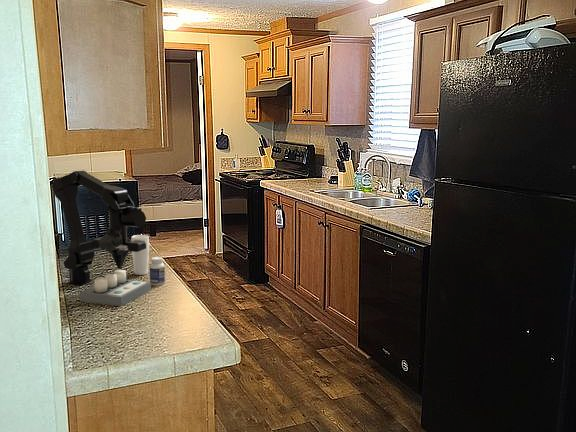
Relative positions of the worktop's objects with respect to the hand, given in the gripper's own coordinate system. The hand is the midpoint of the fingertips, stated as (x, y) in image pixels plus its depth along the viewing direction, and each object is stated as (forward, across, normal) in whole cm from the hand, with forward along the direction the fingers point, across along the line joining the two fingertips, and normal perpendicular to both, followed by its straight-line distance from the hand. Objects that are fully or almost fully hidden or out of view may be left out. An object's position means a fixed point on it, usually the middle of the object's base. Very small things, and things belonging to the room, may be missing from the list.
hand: (119, 268), depth 191 cm
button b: (+5, 0, -5) cm, 7 cm away
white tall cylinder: (+8, -5, +22) cm, 24 cm away
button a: (+5, 0, -11) cm, 12 cm away
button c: (+5, 0, 0) cm, 5 cm away
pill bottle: (+8, +8, +12) cm, 16 cm away
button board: (+8, +2, -6) cm, 10 cm away
